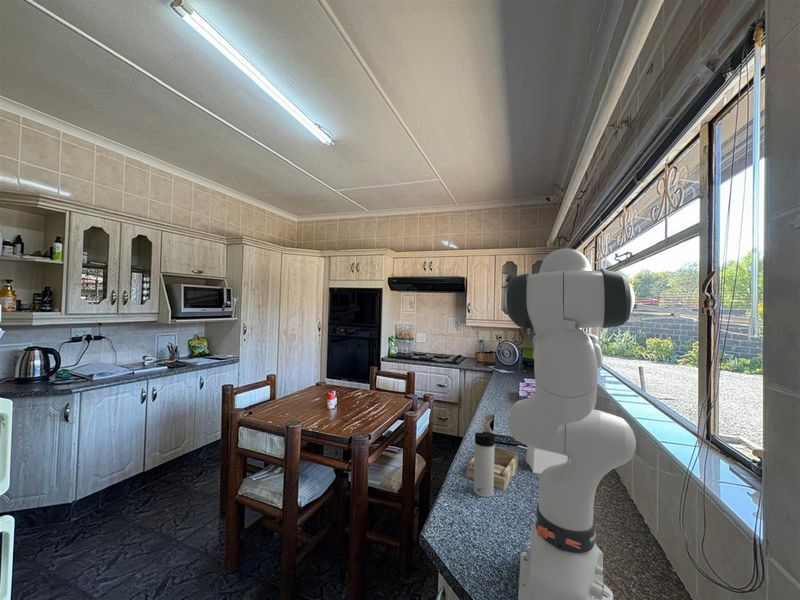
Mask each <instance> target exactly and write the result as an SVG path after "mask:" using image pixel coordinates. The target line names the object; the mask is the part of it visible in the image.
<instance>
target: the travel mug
mask: <svg viewBox="0 0 800 600" xmlns="http://www.w3.org/2000/svg"><path fill="white" fill-rule="evenodd" d="M494 446H496V444H495V434H494V433H492V432H488V431H483V432H475V433H474V452H473V453H474V454H473V455H474V456H473V457H474V479H473V493H474V494H475V495H476V496H478V497H479V498H483V499H490V498H493V496H494V491H495V490H494V488H495V487H494V464H495V462H494Z"/></svg>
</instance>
